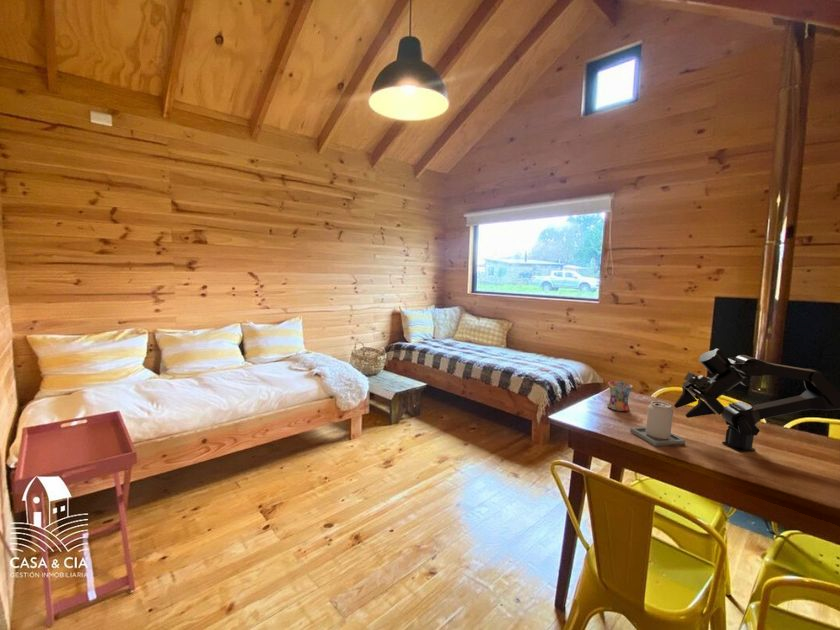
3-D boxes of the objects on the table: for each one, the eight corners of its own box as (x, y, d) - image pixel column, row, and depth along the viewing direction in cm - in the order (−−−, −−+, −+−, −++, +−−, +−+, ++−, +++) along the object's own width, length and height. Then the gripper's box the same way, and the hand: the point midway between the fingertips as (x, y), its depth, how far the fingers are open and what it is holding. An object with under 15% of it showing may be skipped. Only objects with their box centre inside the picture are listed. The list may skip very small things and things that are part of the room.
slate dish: (684, 444, 131) (685, 440, 131) (655, 446, 129) (655, 442, 129) (657, 430, 143) (658, 426, 142) (630, 431, 140) (630, 427, 140)
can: (650, 430, 141) (654, 398, 139) (673, 437, 135) (677, 404, 133) (641, 434, 137) (644, 402, 135) (664, 443, 131) (668, 409, 129)
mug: (625, 414, 157) (628, 389, 156) (602, 408, 164) (604, 383, 162) (635, 407, 165) (638, 383, 164) (613, 401, 172) (615, 378, 171)
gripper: (691, 359, 139) (654, 386, 143) (718, 373, 121) (674, 403, 125) (713, 382, 138) (675, 408, 142) (744, 399, 120) (699, 429, 124)
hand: (680, 411), depth 133 cm, fingers open, 9 cm apart
